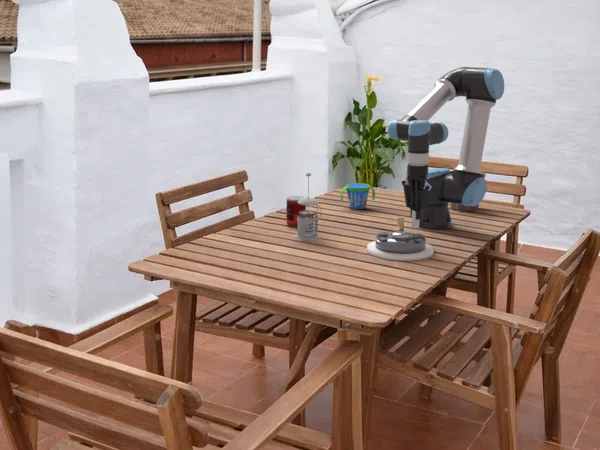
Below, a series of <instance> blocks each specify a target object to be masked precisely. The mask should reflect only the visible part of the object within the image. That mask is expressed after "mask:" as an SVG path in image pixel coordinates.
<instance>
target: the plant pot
mask: <svg viewBox="0 0 600 450" xmlns="http://www.w3.org/2000/svg"><path fill="white" fill-rule="evenodd" d="M450 171H451V172H450V173H451V174H453V170H450ZM482 173H483V177H482V178H484V179H485V177H486V176H487V175H486V173H484V172H482ZM479 206H480V203H479V204H478V205H476V206H464V205H460V204H454V203H450V208H451V209H452V210H454V211H458V212H467V211H468V212H476V211H478V210H479V208H480V207H479Z"/></svg>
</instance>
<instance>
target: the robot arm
mask: <svg viewBox="0 0 600 450" xmlns="http://www.w3.org/2000/svg"><path fill="white" fill-rule="evenodd" d="M504 92H505V79H504V76H503V73H502V72H501V71H500V70H498V69H497V68H492V67H476V66H475V67H474V66H472V67H471V66H460V67H457V68H454V69H452V70H450V71H448V72H447V73H445V74H444V75H442V76H441V77H440V78H439V79H437V81H436V82H435V83H434V85H433V88H432V89H431V90H430V91H429V92H428V93H427V94H425V96H424V97H423V98H422V99H420V101H419V102H418V103H416V104H415V106H413V107H412V109H410V110H409V111H408V112H407V113H406V114H405V115H404V116H403V117H402V118H401V119H399V118H398V119H392V120H391V121H390V122H389V124H388V126H387V133H388V136H389V138H390V139H392V140H396V141H403V142H408V143H407V144H408V145H407V146H408V147H407V158H406V159H407V160H406V161H407V163H408V164H407V166H406V167H407V168H406V174H407V176H406V179H405V180H401V185H402V187H403V193H404V199H405V206H406V207H407V208H409V209H410V219H411V221H410V222H411V225H410V228H412V229H417V228H420V229H421V228H423V229H427V230H428V229H430V230H442V229H449V228H451V227H452V217H451V212H450V209H449V204H451V203H454V204H460V205H464V206H476V205H478V204H479V205H480V204H481V202H482V201H483V200H484V198H485V196H486V193H487V189H488V184H487V180H486V179H485V178H482V177H483V173H484V172H483V171H482V169H481V167H482V162H483V154H484V148H485V142H486V138H487V132H488V126H489V125H488V124H489V121H490V120H489V119H490V115H491V109H492V108H493V107H494V106H495V105H496V103H497V101H499V100H500V99H501V98H502V97H503V95H504ZM458 97H465V101H466V103H467V104H468V105H467V107H468V108H467V114H466V120H465V126H464V130H463V137H462V141H461V148H460V152H459V158H458V159H459V160H458V165H457V166H456V167H453V170H451V169H450V168H448V167H446V168H443V167H442V168H430V169H429V165H428V164H429V157H430V146H433V145H440V144H441V143H443V142H445V141H446V140H448V138H449V129H448V127H447V126H446V124H445V123H443V122H434V123H432V122H430V119H431V118H432V117H433V116H434V115H435V114H436V113H438V112H439V110H441V108H442V107H443V106H444V105H446V103H447V102H452V101H453V100H454V99H455V98H458ZM451 171H453V174H451V173H450V172H451Z"/></svg>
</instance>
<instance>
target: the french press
mask: <svg viewBox="0 0 600 450" xmlns="http://www.w3.org/2000/svg"><path fill="white" fill-rule="evenodd" d="M305 176H306V177H307V181H308V182H307V197H305V198H303V199H300V200H299V201H298V204H300V205H306V206H307V207H309V206H312V207H313V208H314V209H317V210H312V209H311V210H310V209H306V210H302V211H299V212H298V213H299V214H301V215H298V226H296V227H297V230H296V231H297V233H296V234H295V236H294V238H295V239H297V240H301V241H314V240H315V241H316V240H319V239H320V238H321V236H320V235H319V234H318V233H319V232H318V231H319V230H318V229H319V221H320V219H321V216H322V212H320V214H319V209H320V211H322V207H321V206H320V205H319V201H318V200H317V199H315V198H313V197H312V198H311V197H310V196H309V194H310V193H309V191H310V190H309V189H310V187H309V186H310V185H309V184H310V182H309V181H310V177H311V176H312V174H311V173H310V172H307V173H306V175H305ZM318 208H319V209H318ZM319 215H320V216H319ZM301 217H306V218H301Z"/></svg>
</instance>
